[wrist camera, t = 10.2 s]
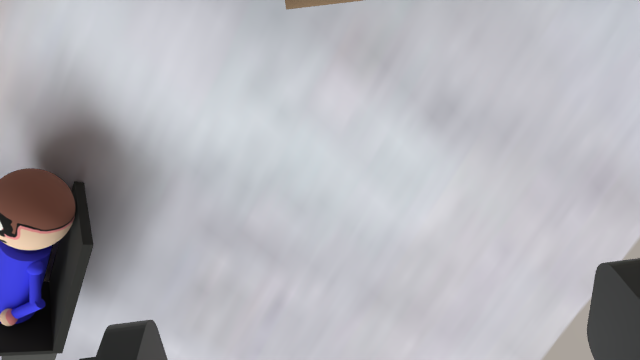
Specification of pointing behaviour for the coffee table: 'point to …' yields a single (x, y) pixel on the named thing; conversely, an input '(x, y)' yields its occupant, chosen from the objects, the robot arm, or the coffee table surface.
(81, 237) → the character figurine
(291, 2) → the channel
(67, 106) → the coffee table surface
